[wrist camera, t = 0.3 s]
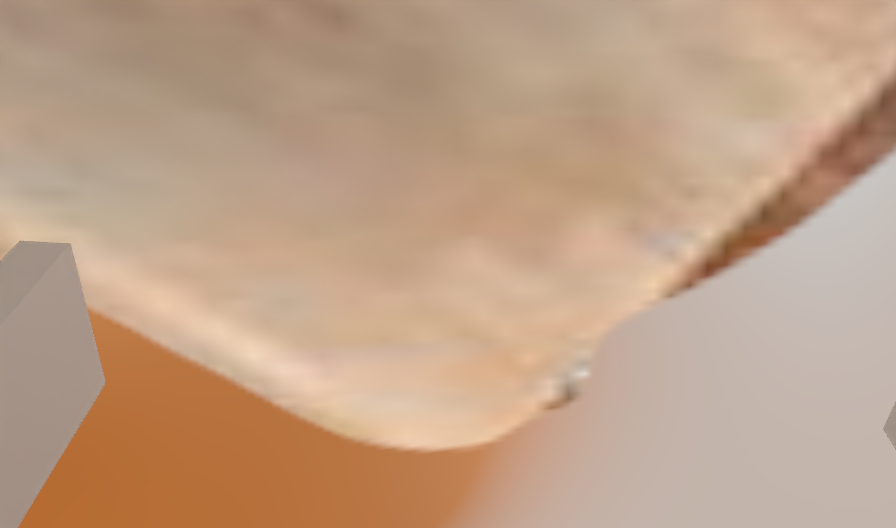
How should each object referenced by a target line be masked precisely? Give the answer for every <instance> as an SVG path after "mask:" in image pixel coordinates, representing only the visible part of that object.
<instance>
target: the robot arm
mask: <svg viewBox="0 0 896 528" xmlns="http://www.w3.org/2000/svg"><path fill="white" fill-rule="evenodd" d="M105 383H106V382H105V378H104V374H103V370H102V366H101V362H100V358H99V354H98V350H97V346H96V342H95V339H94V335H93V331H92V327H91V323H90V319H89V315H88V311H87V307H86V303H85V299H84V295H83V291H82V287H81V283H80V279H79V275H78V271H77V267H76V264H75V260H74V256H73V252H72V248H71V244H66V243H48V242H31V241H19V242H18V243H17V244H16V245H15V246H14V248H13V249H12V250H11V251H10V252H9V253H8V254H7V255H6V256H5V257H4V258H3V259H2V260H1V261H0V528H18V526H19V524H20V523H21V521H22V519H23V518H24V516H25V515H26V513H27V511H28V510H29V508H30V506H31V505H32V503H33V501H34V500H35V498H36V496H37V495H38V493H39V492H40V490H41V488H42V487H43V485H44V483H45V482H46V480H47V478H48V477H49V475H50V473H51V472H52V470H53V468H54V467H55V465H56V464H57V462H58V460H59V459H60V457H61V455H62V454H63V452H64V451H65V449H66V447H67V446H68V444H69V442H70V440H71V439H72V437H73V436H74V434H75V432H76V431H77V429H78V427H79V426H80V424H81V423H82V420H83V419H84V417H85V416H86V414H87V413H88V411H89V409H90V408H91V406H92V405H93V403H94V401H95V400H96V398H97V396H98V394H99V393H100V391H101V390H102V388H103V387H104V385H105ZM884 431H885V433H886V434H887V436H888V437H889V439H890V441H891V442H892V444H893V446H894V448H895V449H896V402H895V405H894V407H893V409H892V411H891V413H890V415H889V417H888V420H887V422H886V424H885V426H884Z"/></svg>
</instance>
